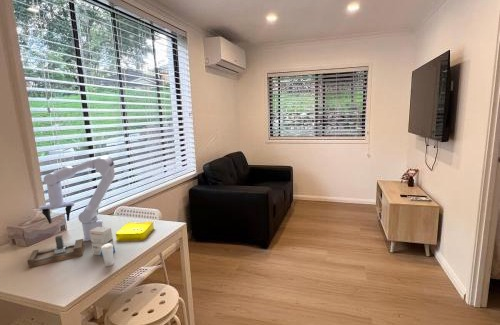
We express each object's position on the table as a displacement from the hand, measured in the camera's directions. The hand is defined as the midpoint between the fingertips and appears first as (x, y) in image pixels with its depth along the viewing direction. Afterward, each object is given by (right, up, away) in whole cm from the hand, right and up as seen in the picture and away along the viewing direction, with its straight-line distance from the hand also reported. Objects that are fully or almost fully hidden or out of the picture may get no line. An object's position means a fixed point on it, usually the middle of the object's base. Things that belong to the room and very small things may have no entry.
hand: (59, 221), depth 145 cm
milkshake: (+38, -13, -25) cm, 47 cm away
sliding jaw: (+11, -11, -15) cm, 21 cm away
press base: (+10, -13, -15) cm, 22 cm away
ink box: (+30, -12, -14) cm, 35 cm away
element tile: (+37, -8, +5) cm, 38 cm away
